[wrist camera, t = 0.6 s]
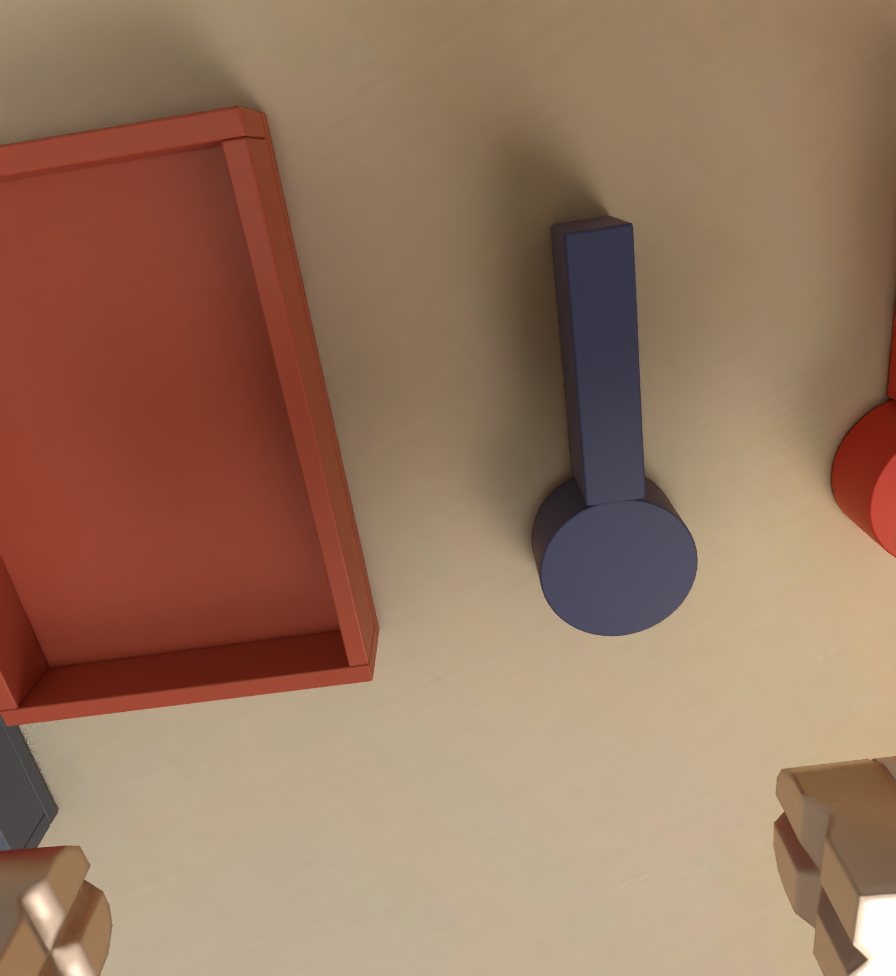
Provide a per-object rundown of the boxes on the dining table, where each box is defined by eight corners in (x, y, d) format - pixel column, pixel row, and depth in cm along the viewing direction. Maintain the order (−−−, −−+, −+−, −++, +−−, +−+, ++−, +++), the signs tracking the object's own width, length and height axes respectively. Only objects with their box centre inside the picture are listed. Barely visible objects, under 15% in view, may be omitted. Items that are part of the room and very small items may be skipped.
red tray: (-170, 184, 19) (-258, 188, 16) (265, 112, 18) (239, 105, 16) (47, 672, 25) (6, 727, 23) (379, 630, 24) (373, 681, 22)
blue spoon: (495, 233, 19) (502, 242, 17) (666, 206, 19) (695, 213, 17) (539, 604, 24) (548, 649, 22) (677, 586, 24) (701, 630, 22)
